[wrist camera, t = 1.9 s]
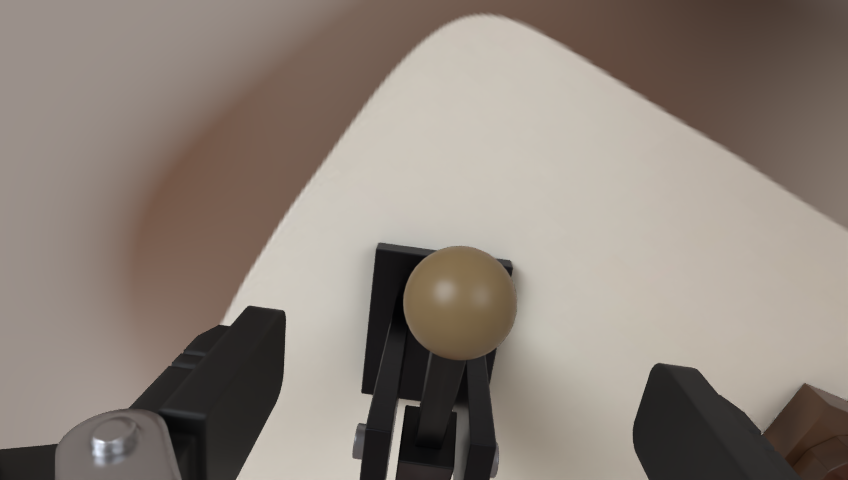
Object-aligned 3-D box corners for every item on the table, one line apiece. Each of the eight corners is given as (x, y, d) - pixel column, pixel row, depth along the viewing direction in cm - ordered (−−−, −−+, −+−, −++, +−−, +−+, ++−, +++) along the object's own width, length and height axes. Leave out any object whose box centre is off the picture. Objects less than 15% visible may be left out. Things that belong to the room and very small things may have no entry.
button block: (804, 382, 32) (852, 425, 28) (910, 427, 32) (971, 474, 28) (730, 473, 34) (765, 523, 30) (830, 512, 35) (876, 566, 31)
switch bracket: (378, 242, 30) (330, 359, 18) (510, 260, 30) (552, 389, 18) (364, 382, 33) (314, 562, 21) (483, 399, 33) (502, 588, 21)
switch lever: (414, 215, 14) (400, 303, 12) (526, 231, 14) (533, 321, 12) (392, 423, 23) (381, 496, 21) (460, 433, 23) (456, 507, 21)
